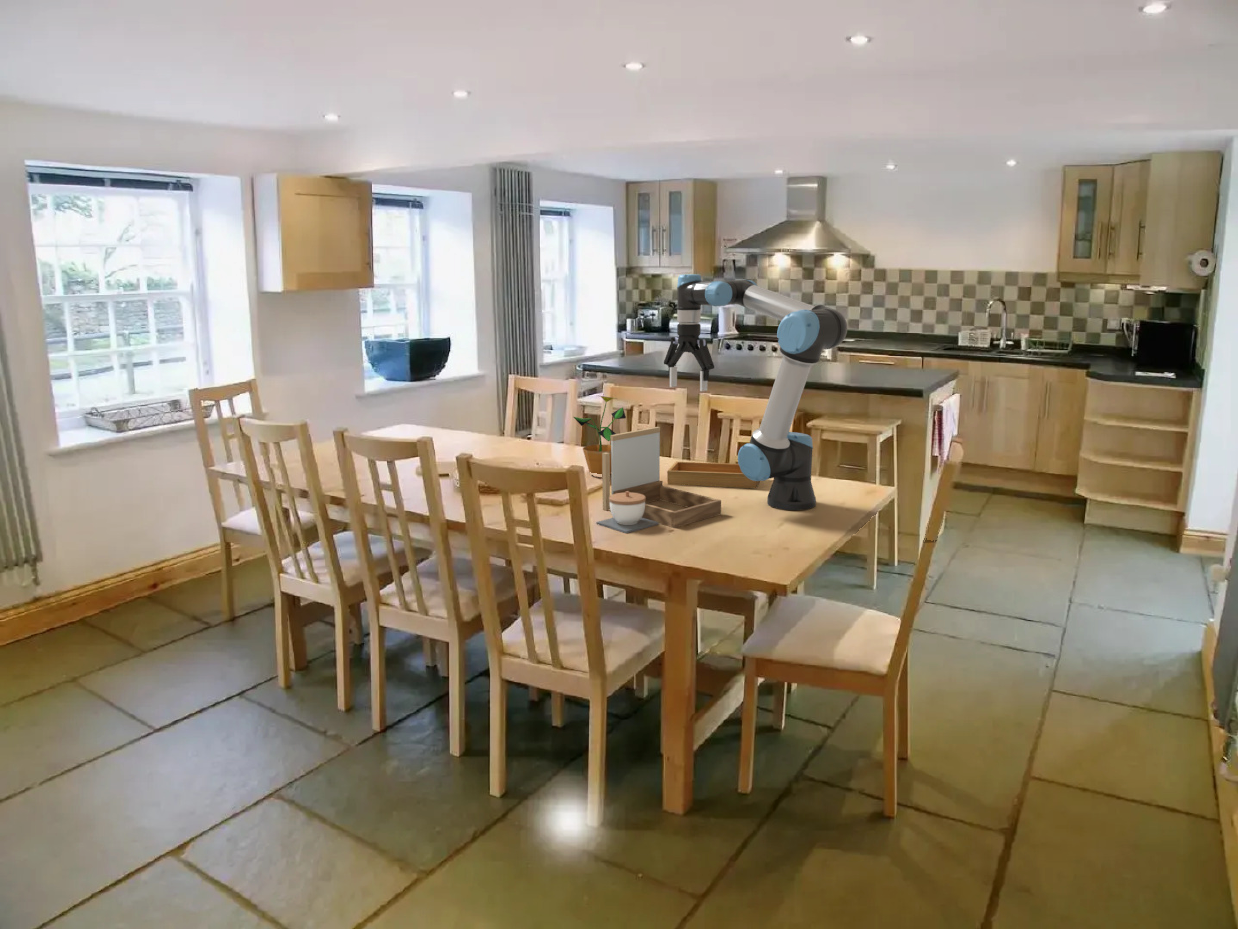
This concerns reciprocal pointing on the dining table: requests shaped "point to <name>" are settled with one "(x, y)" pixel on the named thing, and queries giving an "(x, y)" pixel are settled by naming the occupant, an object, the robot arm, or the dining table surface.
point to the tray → (709, 475)
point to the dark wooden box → (697, 503)
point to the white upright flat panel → (631, 461)
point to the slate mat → (627, 528)
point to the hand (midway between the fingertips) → (688, 388)
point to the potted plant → (595, 451)
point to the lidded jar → (627, 507)
